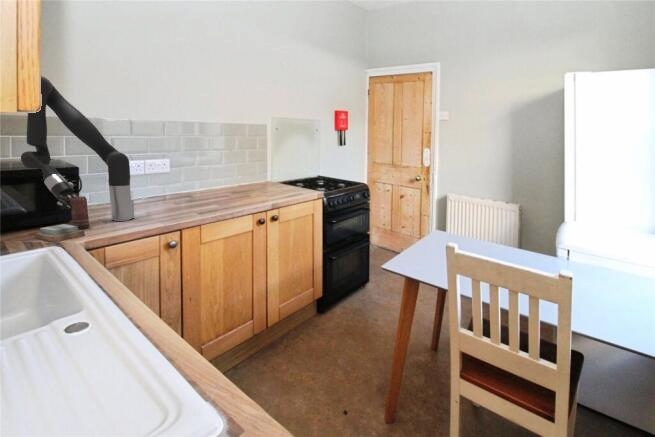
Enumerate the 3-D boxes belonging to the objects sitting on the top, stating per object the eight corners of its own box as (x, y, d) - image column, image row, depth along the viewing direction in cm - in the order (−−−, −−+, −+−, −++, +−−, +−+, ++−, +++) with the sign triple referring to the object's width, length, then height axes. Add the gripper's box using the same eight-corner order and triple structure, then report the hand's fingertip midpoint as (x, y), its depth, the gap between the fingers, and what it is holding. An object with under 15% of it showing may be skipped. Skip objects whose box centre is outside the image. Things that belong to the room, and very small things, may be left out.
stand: (66, 232, 158) (65, 223, 157) (84, 235, 153) (83, 226, 152) (34, 238, 147) (33, 228, 147) (53, 241, 142) (51, 231, 142)
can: (82, 230, 163) (78, 198, 160) (69, 229, 164) (66, 197, 161) (93, 227, 169) (90, 196, 166) (81, 226, 170) (78, 195, 167)
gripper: (48, 182, 158) (74, 212, 157) (76, 179, 171) (101, 207, 170) (40, 193, 161) (66, 223, 160) (69, 190, 173) (92, 218, 172)
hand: (84, 215), depth 165 cm, fingers closed
